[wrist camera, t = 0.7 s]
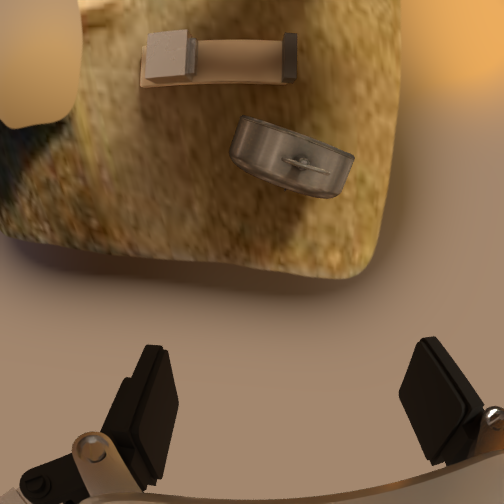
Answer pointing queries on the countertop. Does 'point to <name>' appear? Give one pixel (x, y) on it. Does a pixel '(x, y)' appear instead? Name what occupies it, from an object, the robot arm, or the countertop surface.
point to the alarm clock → (289, 159)
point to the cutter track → (240, 62)
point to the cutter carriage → (171, 57)
